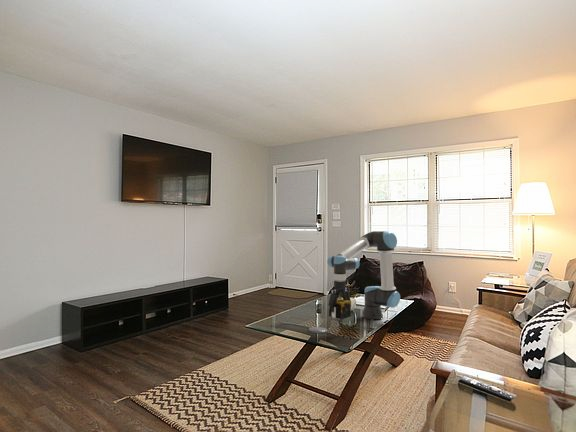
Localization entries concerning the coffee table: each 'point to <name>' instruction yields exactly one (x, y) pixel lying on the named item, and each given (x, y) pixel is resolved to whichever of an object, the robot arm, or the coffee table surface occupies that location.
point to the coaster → (318, 330)
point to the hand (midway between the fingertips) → (339, 315)
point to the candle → (342, 309)
